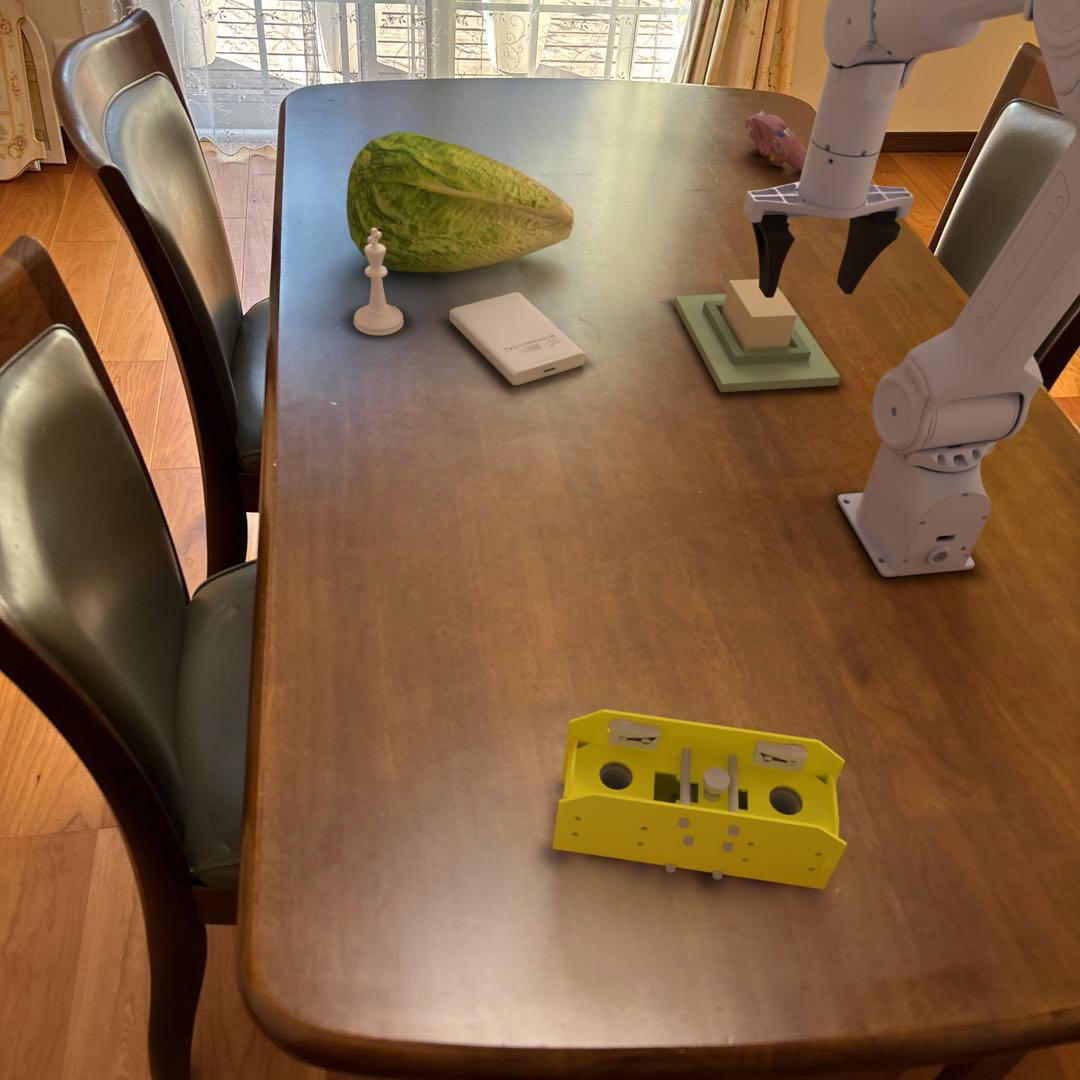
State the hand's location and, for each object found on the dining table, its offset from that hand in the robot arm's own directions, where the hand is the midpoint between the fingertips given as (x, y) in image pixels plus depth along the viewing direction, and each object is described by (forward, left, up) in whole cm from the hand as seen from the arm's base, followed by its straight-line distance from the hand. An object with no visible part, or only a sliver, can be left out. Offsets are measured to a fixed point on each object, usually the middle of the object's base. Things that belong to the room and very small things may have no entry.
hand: (805, 290), depth 93 cm
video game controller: (+49, -17, -10) cm, 53 cm away
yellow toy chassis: (-47, +24, -10) cm, 53 cm away
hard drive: (+8, +25, -10) cm, 28 cm away
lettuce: (+25, +28, -10) cm, 39 cm away
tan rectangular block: (+6, +1, -8) cm, 10 cm away
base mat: (+6, +1, -9) cm, 11 cm away
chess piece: (+13, +38, -10) cm, 41 cm away
